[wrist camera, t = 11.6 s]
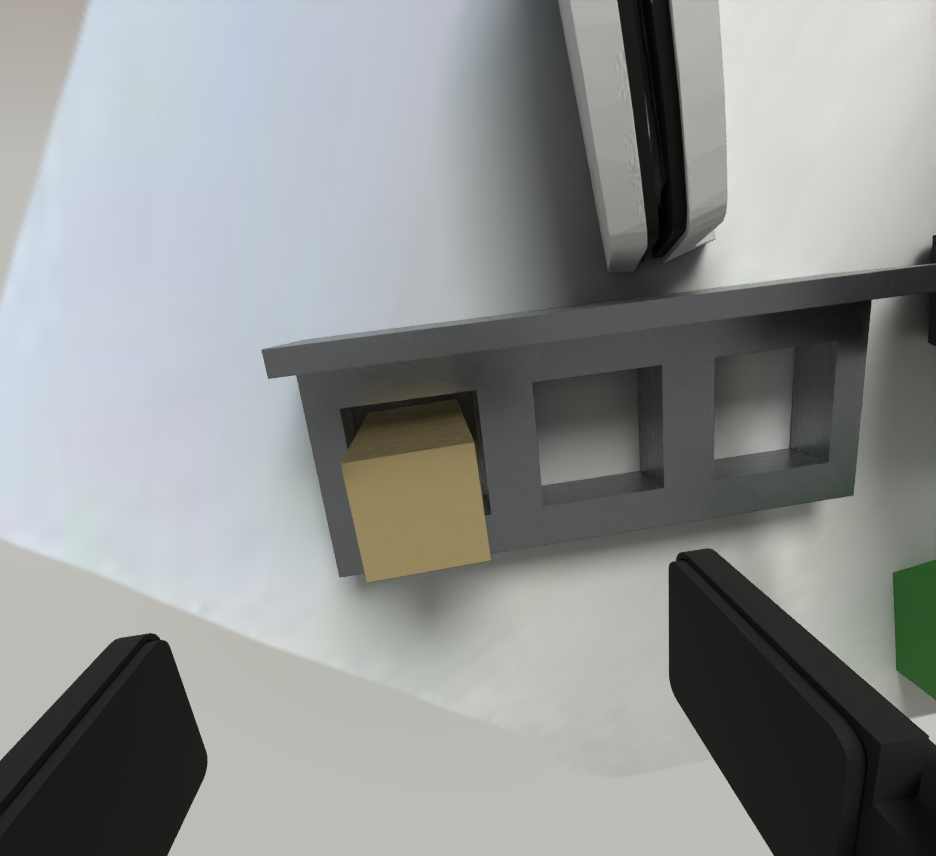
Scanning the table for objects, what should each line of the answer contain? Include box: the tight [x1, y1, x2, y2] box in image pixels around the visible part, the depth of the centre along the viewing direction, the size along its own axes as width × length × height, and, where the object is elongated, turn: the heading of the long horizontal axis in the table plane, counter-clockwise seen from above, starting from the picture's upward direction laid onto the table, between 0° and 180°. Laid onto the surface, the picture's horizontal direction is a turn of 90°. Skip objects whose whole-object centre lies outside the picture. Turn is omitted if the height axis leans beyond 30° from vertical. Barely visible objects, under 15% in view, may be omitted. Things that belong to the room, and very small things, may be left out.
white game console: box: [558, 0, 727, 272], centre depth 17 cm, size 17×5×10 cm, turn 16°
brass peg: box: [341, 399, 491, 582], centre depth 20 cm, size 4×4×8 cm
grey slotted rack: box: [262, 264, 936, 577], centre depth 21 cm, size 26×11×6 cm, turn 97°
